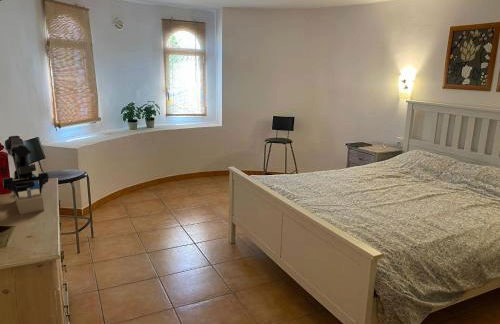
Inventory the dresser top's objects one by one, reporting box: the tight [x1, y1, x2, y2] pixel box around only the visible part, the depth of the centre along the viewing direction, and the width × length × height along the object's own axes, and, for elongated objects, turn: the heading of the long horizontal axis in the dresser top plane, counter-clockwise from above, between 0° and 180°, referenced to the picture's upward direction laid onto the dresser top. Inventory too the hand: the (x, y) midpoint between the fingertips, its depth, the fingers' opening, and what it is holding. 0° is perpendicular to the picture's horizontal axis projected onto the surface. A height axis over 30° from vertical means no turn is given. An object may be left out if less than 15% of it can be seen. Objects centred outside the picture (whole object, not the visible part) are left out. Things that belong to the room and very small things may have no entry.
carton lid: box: [15, 188, 44, 202], centre depth 181 cm, size 14×10×5 cm
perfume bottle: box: [31, 173, 39, 190], centre depth 210 cm, size 6×6×12 cm
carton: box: [14, 194, 45, 216], centre depth 183 cm, size 14×10×6 cm
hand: (29, 195), depth 177 cm, fingers open, 9 cm apart
